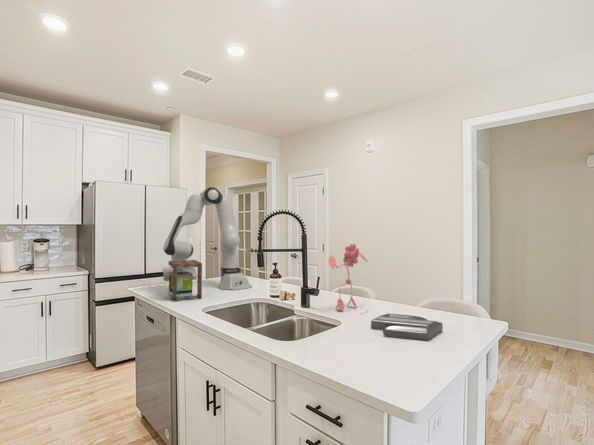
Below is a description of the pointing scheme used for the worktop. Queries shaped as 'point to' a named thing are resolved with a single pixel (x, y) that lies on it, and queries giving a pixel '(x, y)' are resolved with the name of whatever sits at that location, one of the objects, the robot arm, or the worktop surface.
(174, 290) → the walnut shelf
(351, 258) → the pink flower figurine
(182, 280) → the tea box
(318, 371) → the worktop surface
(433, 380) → the worktop surface
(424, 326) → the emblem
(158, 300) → the worktop surface
